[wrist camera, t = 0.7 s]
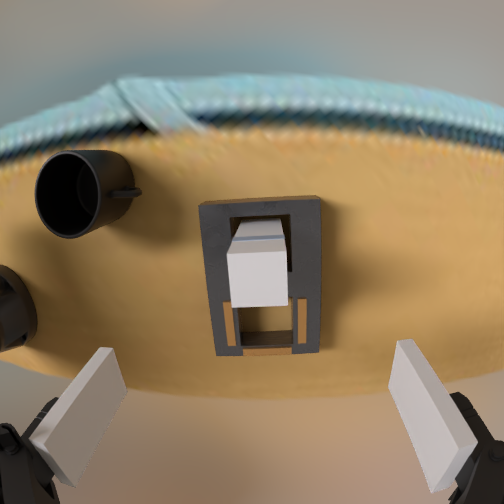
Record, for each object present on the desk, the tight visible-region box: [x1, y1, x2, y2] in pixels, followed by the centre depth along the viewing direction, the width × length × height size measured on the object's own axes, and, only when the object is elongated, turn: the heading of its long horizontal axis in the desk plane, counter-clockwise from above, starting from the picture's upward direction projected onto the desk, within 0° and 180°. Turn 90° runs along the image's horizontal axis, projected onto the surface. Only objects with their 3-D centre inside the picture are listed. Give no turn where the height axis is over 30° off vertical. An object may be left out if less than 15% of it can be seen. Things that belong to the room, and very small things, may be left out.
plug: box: [227, 218, 288, 308], centre depth 31 cm, size 5×5×14 cm
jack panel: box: [198, 195, 321, 356], centre depth 38 cm, size 13×19×4 cm
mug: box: [35, 150, 142, 239], centre depth 33 cm, size 9×12×9 cm
